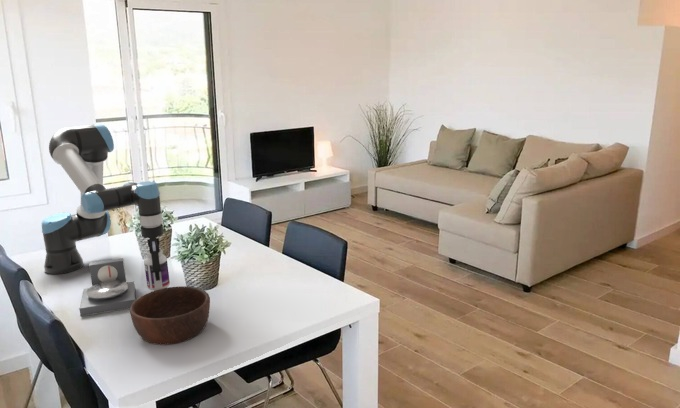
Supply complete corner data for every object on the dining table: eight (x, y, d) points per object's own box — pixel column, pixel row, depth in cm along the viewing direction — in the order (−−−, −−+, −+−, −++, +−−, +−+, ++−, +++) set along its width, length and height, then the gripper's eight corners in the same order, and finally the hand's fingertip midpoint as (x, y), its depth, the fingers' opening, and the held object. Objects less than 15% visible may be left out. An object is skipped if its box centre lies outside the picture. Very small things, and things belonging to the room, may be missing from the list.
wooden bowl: (218, 311, 189) (216, 284, 187) (203, 348, 165) (200, 318, 163) (147, 313, 189) (144, 287, 186) (121, 351, 165) (117, 321, 162)
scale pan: (89, 289, 203) (88, 284, 202) (128, 283, 207) (127, 278, 207) (85, 304, 190) (85, 298, 189) (128, 297, 194) (127, 292, 194)
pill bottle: (174, 284, 202) (170, 248, 198) (161, 293, 195) (156, 256, 191) (156, 281, 205) (152, 246, 201) (142, 290, 197) (138, 253, 193)
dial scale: (85, 292, 207) (80, 263, 204) (135, 285, 213) (131, 257, 210) (80, 316, 188) (75, 284, 185) (135, 307, 194) (130, 276, 191)
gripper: (140, 217, 201) (147, 274, 208) (140, 235, 182) (148, 296, 189) (161, 215, 204) (167, 271, 210) (163, 232, 185) (170, 292, 191)
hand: (158, 282), depth 199 cm, fingers closed on pill bottle, 8 cm apart
